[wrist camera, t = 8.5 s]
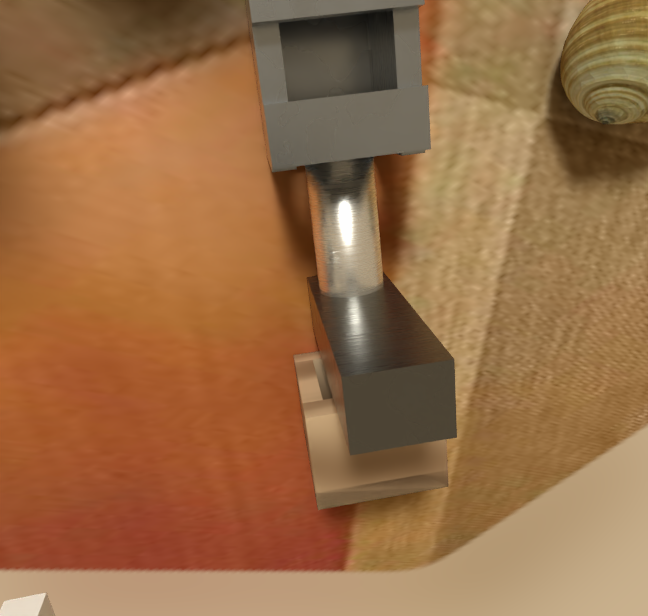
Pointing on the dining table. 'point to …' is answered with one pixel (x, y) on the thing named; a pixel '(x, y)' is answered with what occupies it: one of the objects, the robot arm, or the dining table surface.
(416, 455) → the socket
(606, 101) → the seashell
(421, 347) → the sliding bolt
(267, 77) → the sleeve
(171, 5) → the dining table surface
